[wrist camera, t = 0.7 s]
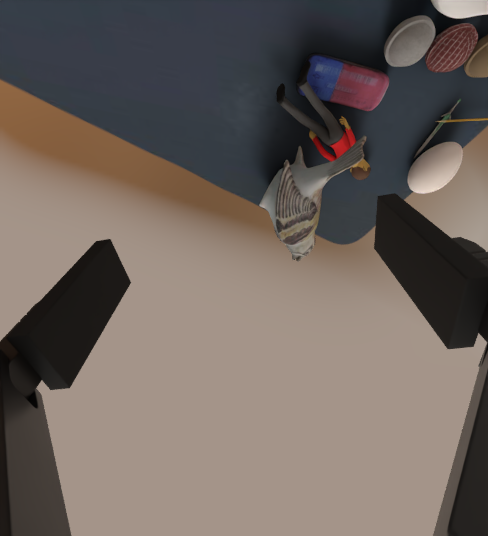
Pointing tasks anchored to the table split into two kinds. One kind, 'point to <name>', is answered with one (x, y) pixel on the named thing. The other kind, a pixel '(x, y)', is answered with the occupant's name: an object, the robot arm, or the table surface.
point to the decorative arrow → (463, 120)
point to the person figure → (328, 135)
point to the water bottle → (461, 7)
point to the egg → (435, 167)
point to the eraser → (345, 82)
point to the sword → (437, 128)
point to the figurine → (303, 198)
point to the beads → (437, 47)
